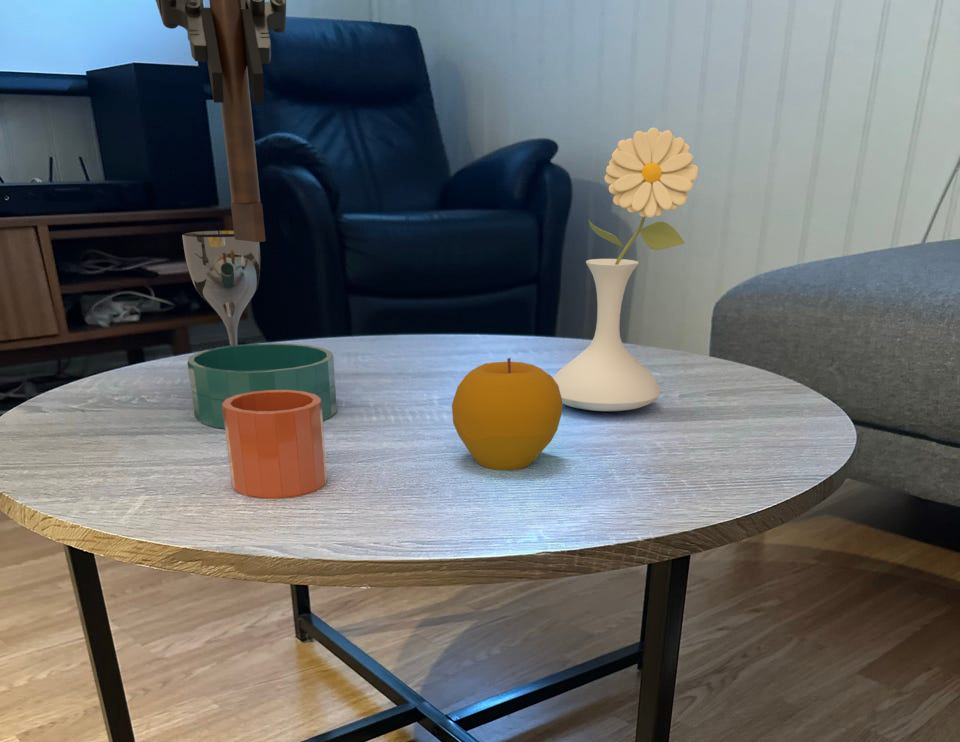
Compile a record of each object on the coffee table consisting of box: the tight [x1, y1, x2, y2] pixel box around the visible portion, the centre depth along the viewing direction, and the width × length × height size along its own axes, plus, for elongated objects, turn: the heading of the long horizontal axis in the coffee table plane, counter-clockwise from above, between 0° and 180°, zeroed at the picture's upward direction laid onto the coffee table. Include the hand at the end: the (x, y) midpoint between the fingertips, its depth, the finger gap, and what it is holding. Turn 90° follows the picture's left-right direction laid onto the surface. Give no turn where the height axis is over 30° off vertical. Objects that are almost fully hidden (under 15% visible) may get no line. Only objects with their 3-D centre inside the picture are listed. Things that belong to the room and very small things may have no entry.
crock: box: [222, 390, 328, 500], centre depth 70 cm, size 7×7×7 cm
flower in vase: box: [552, 127, 699, 412], centre depth 89 cm, size 13×11×25 cm
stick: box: [209, 0, 266, 243], centre depth 76 cm, size 3×2×21 cm
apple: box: [451, 357, 564, 471], centre depth 75 cm, size 9×9×9 cm
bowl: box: [187, 342, 338, 430], centre depth 89 cm, size 13×13×6 cm
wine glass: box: [181, 230, 262, 346], centre depth 103 cm, size 8×8×15 cm
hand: (238, 87), depth 73 cm, fingers closed on stick, 2 cm apart
